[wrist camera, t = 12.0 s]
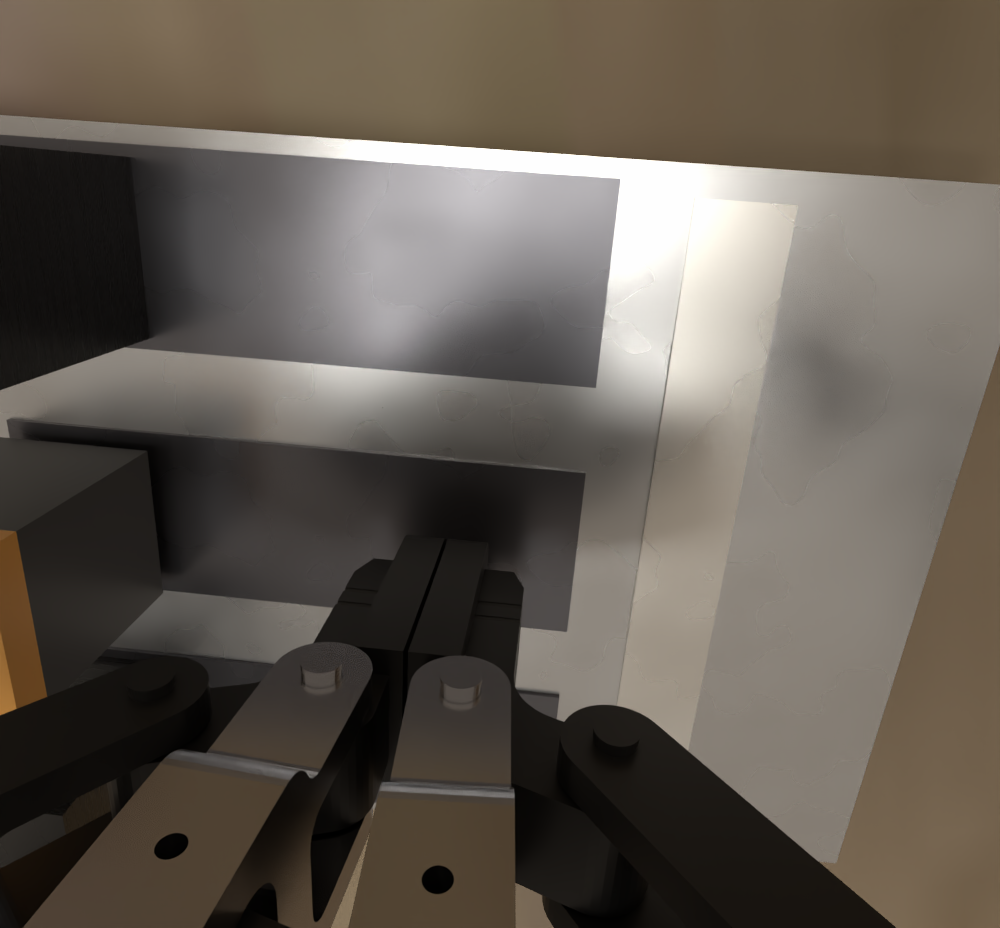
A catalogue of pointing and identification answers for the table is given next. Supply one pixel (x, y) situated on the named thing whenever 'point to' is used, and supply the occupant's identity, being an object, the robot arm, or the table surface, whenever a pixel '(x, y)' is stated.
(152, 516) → the block
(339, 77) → the table surface
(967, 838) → the table surface
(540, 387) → the panel
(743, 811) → the robot arm
